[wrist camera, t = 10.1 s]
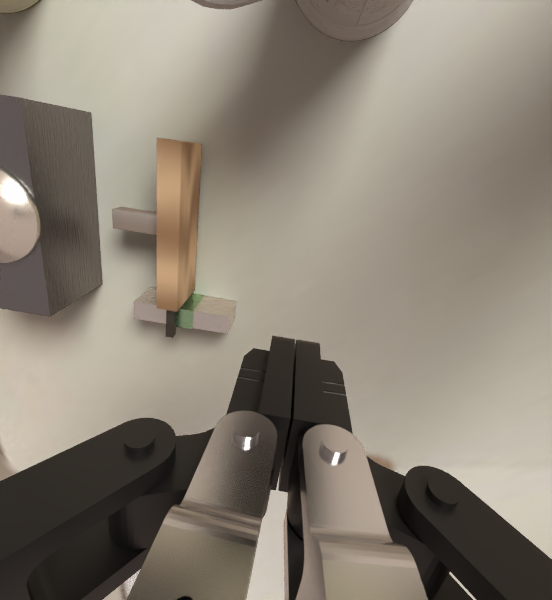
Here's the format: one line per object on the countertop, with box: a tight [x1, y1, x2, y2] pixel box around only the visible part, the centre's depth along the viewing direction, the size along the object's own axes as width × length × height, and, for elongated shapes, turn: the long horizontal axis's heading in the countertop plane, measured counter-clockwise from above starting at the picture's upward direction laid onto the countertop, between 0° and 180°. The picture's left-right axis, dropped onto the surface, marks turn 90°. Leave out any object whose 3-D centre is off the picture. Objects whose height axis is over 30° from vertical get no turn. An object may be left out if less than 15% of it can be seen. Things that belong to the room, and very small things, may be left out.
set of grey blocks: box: [0, 95, 237, 334], centre depth 25 cm, size 15×19×7 cm
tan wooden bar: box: [112, 138, 202, 338], centre depth 27 cm, size 15×6×5 cm, turn 172°
